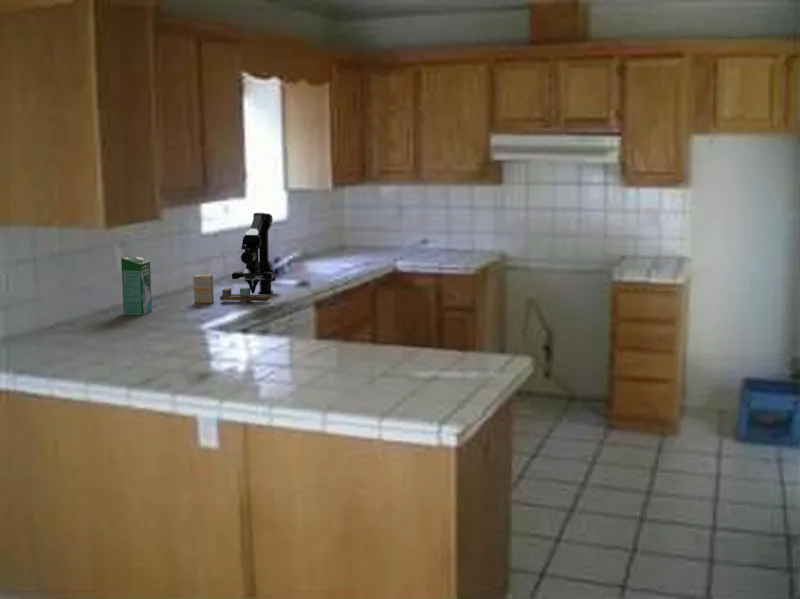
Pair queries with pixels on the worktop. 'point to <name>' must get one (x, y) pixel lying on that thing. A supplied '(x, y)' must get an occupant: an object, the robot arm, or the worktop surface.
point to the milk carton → (136, 285)
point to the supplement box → (203, 289)
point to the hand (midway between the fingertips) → (253, 293)
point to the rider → (245, 291)
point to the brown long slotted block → (242, 297)
